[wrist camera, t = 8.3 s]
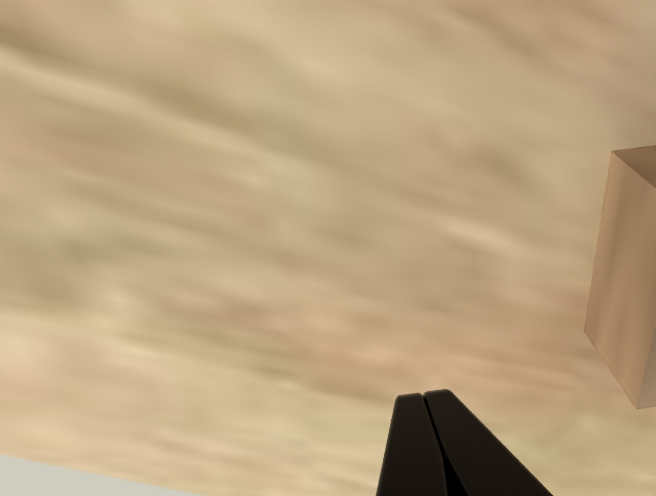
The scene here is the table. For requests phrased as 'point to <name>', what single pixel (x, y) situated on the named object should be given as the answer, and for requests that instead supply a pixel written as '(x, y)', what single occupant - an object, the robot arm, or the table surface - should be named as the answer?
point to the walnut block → (627, 275)
